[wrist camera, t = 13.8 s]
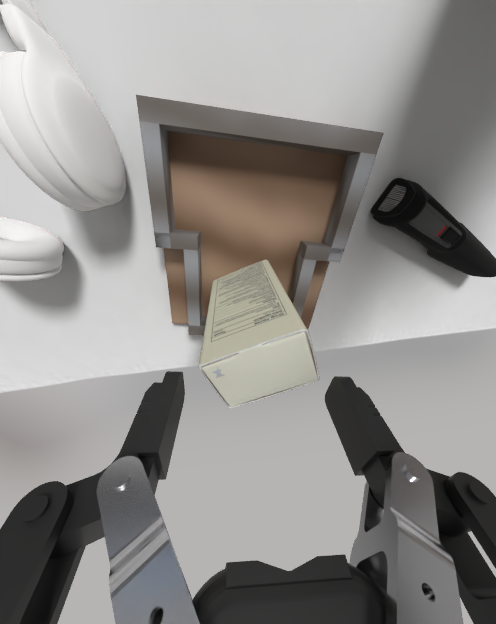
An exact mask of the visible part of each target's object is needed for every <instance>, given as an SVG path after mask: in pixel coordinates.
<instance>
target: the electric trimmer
mask: <svg viewBox="0 0 496 624" xmlns="http://www.w3.org/2000/svg"><path fill="white" fill-rule="evenodd" d="M371 213H372V214H373V215H374V216H373V217H374V219H375V220H377V221H378V222H379V223H381V224H384V225H387V226H391V227H395V228H397V229H399V230H400V231H402V232H404V233H405V234H407V235H409V236H410V237H412V238H414V239H415V240H417V241H418V242H420V243H421V244H422V245H423V246H424V247H426V248H427V249H428V255H429V256H431V257H433V258H434V259H436V260H438V261H441V262H443V263H445V264H447V265H449V266H451V267H453V268H455V269H457V270H460V271H462V272H464V273H466V274H469V275H472V276H479V277H495V276H496V259H495V257H494V256H493V255H492V254H491V253H490V251H489V250H488V249H487V248H486V247H485V246H484V245H483V244H482V243H481V242H480V241H479V240H478V239H477V238H476V237H475V236H474V235H473V234H472V233H471V232H470V231H469V230H468V229H467V228H466V227H465V226H464V225H463V224H462V223H459V222H458V221H457V220H456V219H455V218H454V217H453V216H452V215H451V214H450V213H449V212H448V211H447V210H446V209H445V208H444V207H443V206H442V205H441V204H440V203H438V202H437V201H436V200H435V199H434V198H433V197H432V196H431V195H429V194H428V193H427V192H426V191H425V190H424V189H423V188H422V187H421V186H420V185H419V184H417V183H415V182H412V181H408V180H405V179H402V178H397V179H394V180H393V181H392V182H391V183H390V184H389V185H388V187H387V188H386V189H385V191H384V192H383V194H382V195H381V196H380V198H379V199H378V200H377V202H376V203H375V205H374V206H373V208H372V209H371Z"/></svg>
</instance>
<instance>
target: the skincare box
mask: <svg viewBox="0 0 496 624" xmlns="http://www.w3.org/2000/svg"><path fill="white" fill-rule="evenodd" d="M199 369H200V371H201V372H202V373H203V375H204V376H205V378H206V379H207V380H208V381H209V383H210V384H211V386H212V387H213V388H214V390H215V391H216V393H217V394H218V395H219V397H220V398H221V399H222V400H223V401H224V402H225V404H226V405H227V406H228V407H229V408H234V407H237V406H241V405H244V404H248V403H251V402H254V401H258V400H261V399H264V398H267V397H270V396H273V395H276V394H280V393H283V392H286V391H289V390H292V389H295V388H298V387H300V386H304V385H306V384H310V383H313V382H316V381H318V380H319V379H320V378H319V373H318V368H317V364H316V359H315V355H314V351H313V347H312V343H311V339H310V336H309V332H308V330H307V328H306V327H305V325H304V323H303V321H302V320H301V318H300V316H299V315H298V313H297V311H296V309H295V307H294V306H293V304H292V302H291V300H290V299H289V297H288V295H287V293H286V292H285V290H284V288H283V286H282V284H281V283H280V281H279V279H278V277H277V276H276V274H275V272H274V270H273V268H272V267H271V265H270V263H269V261H268V260H263V261H260V262H257V263H255V264H252V265H249V266H247V267H244V268H242V269H239V270H237V271H235V272H232V273H230V274H227V275H225V276H223V277H221V278H218V279H216V280H214V281H213V283H212V289H211V296H210V302H209V307H208V314H207V319H206V325H205V331H204V337H203V343H202V349H201V355H200V361H199Z"/></svg>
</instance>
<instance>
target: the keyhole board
mask: <svg viewBox="0 0 496 624" xmlns="http://www.w3.org/2000/svg"><path fill="white" fill-rule="evenodd" d="M136 98H137V106H138V113H139V121H140V128H141V136H142V143H143V151H144V158H145V166H146V173H147V181H148V188H149V196H150V204H151V211H152V219H153V226H154V234H155V241H156V247H160V248H164V253H165V262H166V271H167V279H168V288H169V297H170V306H171V315H172V323H183V324H188V326H189V334H190V335H204V331H205V325H206V319H207V314H208V307H209V302H210V296H211V289H212V283H213V281H214V280H216V279H218V278H221V277H223V276H225V275H227V274H230V273H232V272H235V271H237V270H239V269H242V268H244V267H247V266H249V265H252V264H255V263H257V262H260V261H263V260H268V261H269V263H270V265H271V267H272V268H273V270H274V272H275V274H276V276H277V277H278V279H279V281H280V283H281V284H282V286H283V288H284V290H285V292H286V293H287V295H288V297H289V299H290V300H291V302H292V304H293V306H294V307H295V309H296V311H297V313H298V315H299V316H300V318H301V320H302V321H303V323H304V325H305V327H306V328H307V329H308V328H309V325H310V322H311V319H312V315H313V312H314V309H315V306H316V303H317V299H318V296H319V293H320V290H321V286H322V283H323V280H324V277H325V274H326V270H327V267H328V264H329V261H332V262H340V260H341V257H342V254H343V251H344V248H345V245H346V242H347V239H348V236H349V234H350V231H351V228H352V225H353V222H354V219H355V216H356V213H357V210H358V207H359V204H360V201H361V198H362V195H363V192H364V189H365V186H366V183H367V180H368V178H369V175H370V172H371V169H372V166H373V163H374V160H375V157H376V154H377V151H378V148H379V145H380V142H381V139H382V136H383V133H380V132H374V131H367V130H361V129H354V128H348V127H341V126H335V125H328V124H322V123H315V122H309V121H302V120H296V119H290V118H283V117H277V116H270V115H264V114H257V113H251V112H244V111H238V110H231V109H225V108H218V107H212V106H205V105H199V104H192V103H186V102H179V101H173V100H166V99H160V98H153V97H147V96H140V95H136Z"/></svg>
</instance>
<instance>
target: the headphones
mask: <svg viewBox="0 0 496 624" xmlns="http://www.w3.org/2000/svg"><path fill="white" fill-rule="evenodd" d="M1 1H2V3H3V5H0V12H1V15H2V19H3V21H4V24H5V27H6V30H7V31H8V33H9V35H10V37H11V39H12V40H13V42H14V43H15V45H16V46H17V47H18V48H19V49H20V50H21V51H15V52H11V53H7V52H2V51H0V142H1V143H2V145H3V147H4V148H5V149H6V151H7V152H8V154H9V155H10V156H11V158H12V159H13V160H14V162H15V163H16V164H17V165H18V167H19V168H20V169H21V170H22V171H23V172H24V173H25V174H26V175H27V177H28V178H29V179H30V180H32V181H33V182H34V183H35V184H36V185H37V186H38V187H39V188H40V189H41V190H43V191H44V192H45V193H46V194H48V195H49V196H50V197H52V198H53V199H55V200H56V201H58V202H60V203H61V204H63V205H65V206H67V207H70V208H73V209H76V210H80V211H92V210H95V209H98V208H99V207H105V206H108V205H110V204H116V203H118V202H119V201H121V199H122V198H123V196H124V194H125V190H126V174H125V168H124V164H123V159H122V155H121V152H120V149H119V146H118V143H117V141H116V138H115V136H114V134H113V132H112V129H111V127H110V125H109V124H108V122H107V120H106V118H105V116H104V115H103V113H102V111H101V109H100V108H99V106H98V105H97V103H96V101H95V99H94V98H93V96H92V94H91V92H90V91H89V89H88V87H87V86H86V84H85V83H84V81H83V80H82V78H81V77H80V75H79V74H78V72H77V71H76V69H75V68H74V66H73V65H72V63H71V62H70V60H69V59H68V57H67V56H66V55H65V53H64V52H63V50H62V49H61V48H60V46H59V45H58V44H57V42H56V41H55V40H54V39H53V38H52V37H51V36H50V35H49V34H48V32H47V30H46V29H45V27H44V25H43V23H42V21H41V20H40V18H39V16H38V14H37V12H36V11H35V9H34V7H33V5H32V4H31V2H30V0H1ZM63 251H64V244H63V242H62V241H61V239H60V238H59V237H57V236H56V235H55V234H53V233H51V232H50V231H48V230H46V229H43V228H41V227H38V226H36V225H33V224H30V223H26V222H23V221H19V220H15V219H11V218H7V217H2V216H0V281H2V282H18V281H33V280H40V279H45V278H48V277H51V276H54V275H56V274H57V273H59V272H60V271H61V268H62V265H61V263H62V260H63V255H62V253H63Z"/></svg>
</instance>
